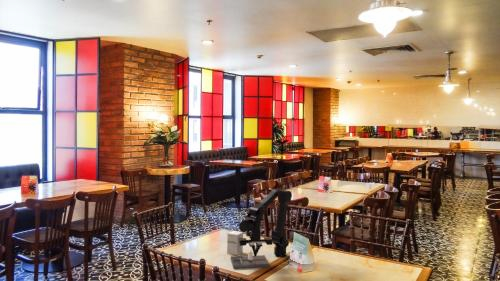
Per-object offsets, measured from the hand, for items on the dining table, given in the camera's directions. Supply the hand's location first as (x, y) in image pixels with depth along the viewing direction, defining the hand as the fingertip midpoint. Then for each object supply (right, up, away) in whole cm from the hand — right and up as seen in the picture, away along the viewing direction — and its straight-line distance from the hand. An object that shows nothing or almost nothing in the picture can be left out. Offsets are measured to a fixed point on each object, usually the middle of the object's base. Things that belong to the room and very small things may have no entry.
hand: (255, 256), depth 220 cm
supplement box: (-12, -3, +18) cm, 22 cm away
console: (-3, -4, 0) cm, 5 cm away
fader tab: (-3, -2, 0) cm, 3 cm away
